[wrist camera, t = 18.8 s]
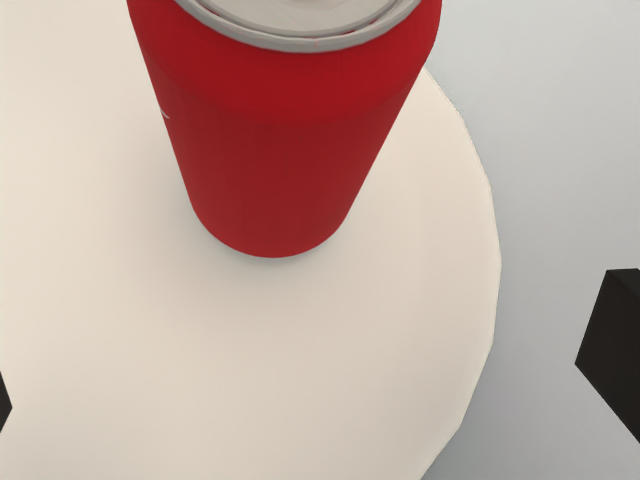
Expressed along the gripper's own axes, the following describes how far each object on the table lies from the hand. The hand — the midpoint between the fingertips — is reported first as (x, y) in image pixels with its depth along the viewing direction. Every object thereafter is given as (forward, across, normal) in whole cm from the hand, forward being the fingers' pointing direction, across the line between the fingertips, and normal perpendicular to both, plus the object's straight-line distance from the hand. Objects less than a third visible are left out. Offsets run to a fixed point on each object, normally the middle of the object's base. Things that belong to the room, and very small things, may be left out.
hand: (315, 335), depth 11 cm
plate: (+10, -4, -3) cm, 11 cm away
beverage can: (+10, 0, -1) cm, 10 cm away
